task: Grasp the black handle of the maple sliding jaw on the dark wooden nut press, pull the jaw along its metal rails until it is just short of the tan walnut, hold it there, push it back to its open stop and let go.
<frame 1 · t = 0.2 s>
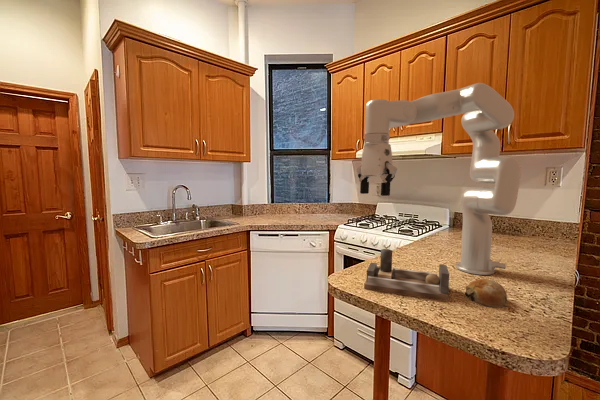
hand: (374, 194, 91), 30 cm above the countertop, tool pointing down, fingers open, 9 cm apart
bread roll: (485, 301, 82), on the countertop
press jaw: (387, 265, 93), point 7 cm above the countertop, slide at 0.0 cm
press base: (404, 287, 91), on the countertop
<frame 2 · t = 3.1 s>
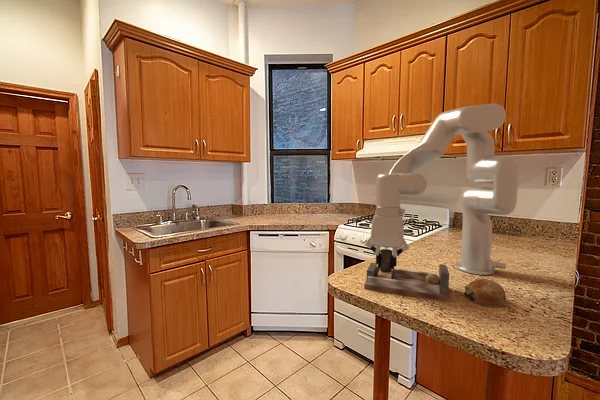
hand: (386, 266, 93), 6 cm above the countertop, tool pointing down, fingers closed on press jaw, 3 cm apart
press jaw: (387, 265, 93), point 7 cm above the countertop, slide at 0.0 cm, touching gripper
everything else where it was.
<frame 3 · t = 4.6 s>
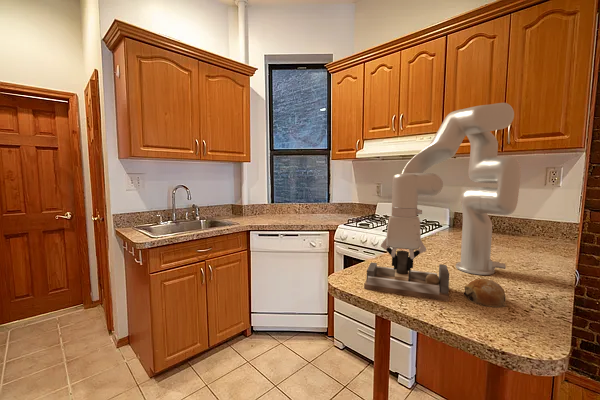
hand: (402, 268, 91), 6 cm above the countertop, tool pointing down, fingers closed on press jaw, 3 cm apart
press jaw: (403, 266, 91), point 7 cm above the countertop, slide at 5.0 cm, touching gripper
everything else where it was.
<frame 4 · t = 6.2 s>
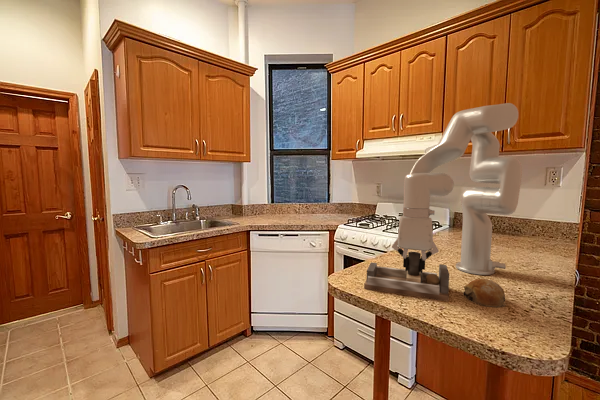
hand: (413, 270, 90), 6 cm above the countertop, tool pointing down, fingers closed on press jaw, 3 cm apart
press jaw: (414, 268, 90), point 7 cm above the countertop, slide at 8.5 cm, touching gripper
everything else where it was.
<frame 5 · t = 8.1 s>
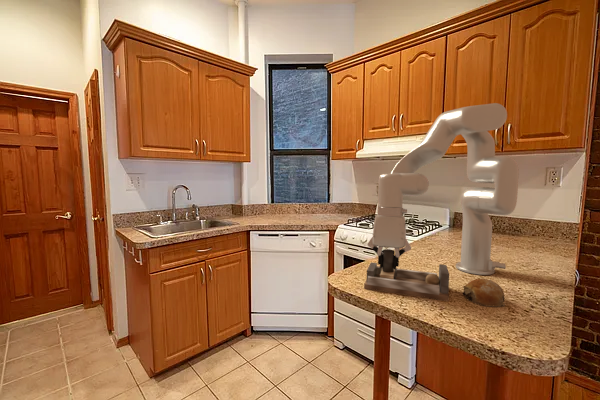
hand: (388, 266, 93), 6 cm above the countertop, tool pointing down, fingers closed on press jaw, 3 cm apart
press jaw: (389, 265, 93), point 7 cm above the countertop, slide at 0.7 cm, touching gripper
everything else where it was.
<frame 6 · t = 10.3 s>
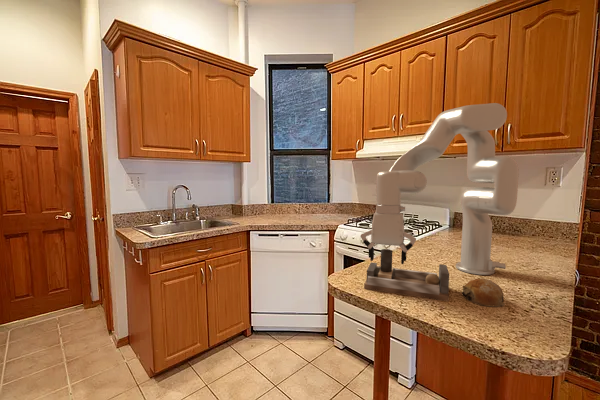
hand: (387, 261, 93), 8 cm above the countertop, tool pointing down, fingers open, 9 cm apart
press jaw: (387, 265, 93), point 7 cm above the countertop, slide at 0.0 cm
everything else where it was.
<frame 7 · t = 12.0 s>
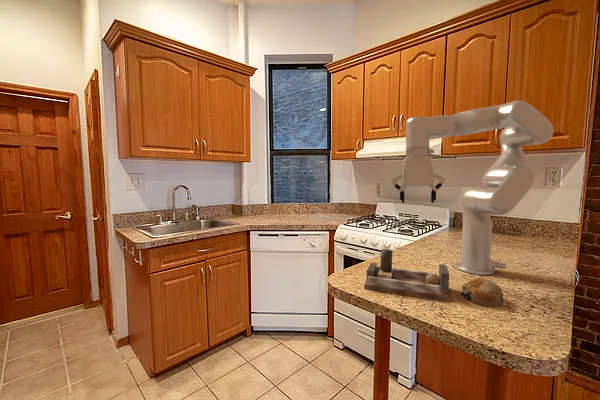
hand: (417, 202, 100), 26 cm above the countertop, tool pointing down, fingers open, 9 cm apart
nothing on the countertop moved.
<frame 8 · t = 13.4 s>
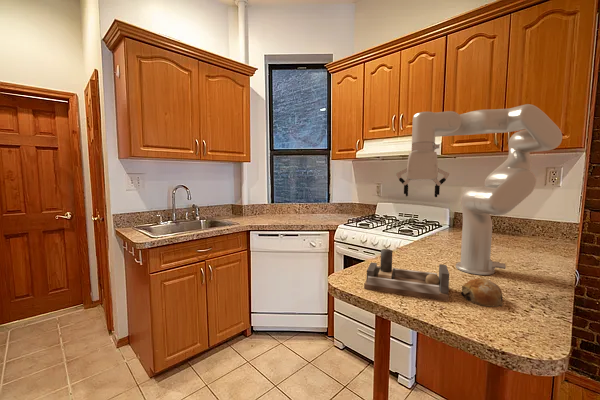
hand: (421, 196, 102), 28 cm above the countertop, tool pointing down, fingers open, 9 cm apart
at the end: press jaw slide at 0.0 cm; the gripper is holding nothing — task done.
